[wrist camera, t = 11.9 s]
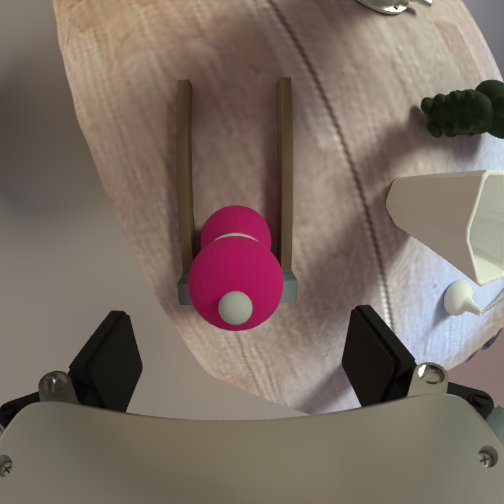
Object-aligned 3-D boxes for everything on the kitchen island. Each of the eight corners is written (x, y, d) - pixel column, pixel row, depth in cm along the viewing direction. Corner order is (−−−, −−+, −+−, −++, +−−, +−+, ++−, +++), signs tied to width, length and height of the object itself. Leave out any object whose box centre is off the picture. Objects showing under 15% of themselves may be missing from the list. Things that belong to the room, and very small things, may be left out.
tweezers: (514, 271, 38) (519, 274, 36) (513, 287, 40) (518, 291, 38) (466, 309, 41) (472, 313, 39) (466, 325, 42) (471, 330, 40)
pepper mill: (237, 272, 34) (239, 389, 15) (193, 233, 32) (137, 315, 13) (279, 231, 33) (335, 310, 13) (235, 188, 31) (231, 211, 12)
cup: (442, 213, 33) (528, 242, 17) (398, 255, 34) (481, 307, 18) (411, 148, 30) (507, 146, 14) (361, 189, 32) (454, 207, 15)
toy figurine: (410, 154, 32) (503, 134, 29) (506, 158, 14) (576, 138, 11) (390, 92, 30) (489, 86, 26) (475, 55, 12) (560, 75, 8)
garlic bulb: (435, 309, 38) (460, 335, 31) (448, 276, 36) (476, 300, 29) (457, 307, 39) (481, 331, 31) (468, 277, 37) (496, 298, 29)
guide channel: (286, 84, 28) (297, 67, 22) (286, 280, 34) (296, 301, 29) (182, 86, 27) (171, 69, 21) (188, 283, 34) (179, 304, 28)
